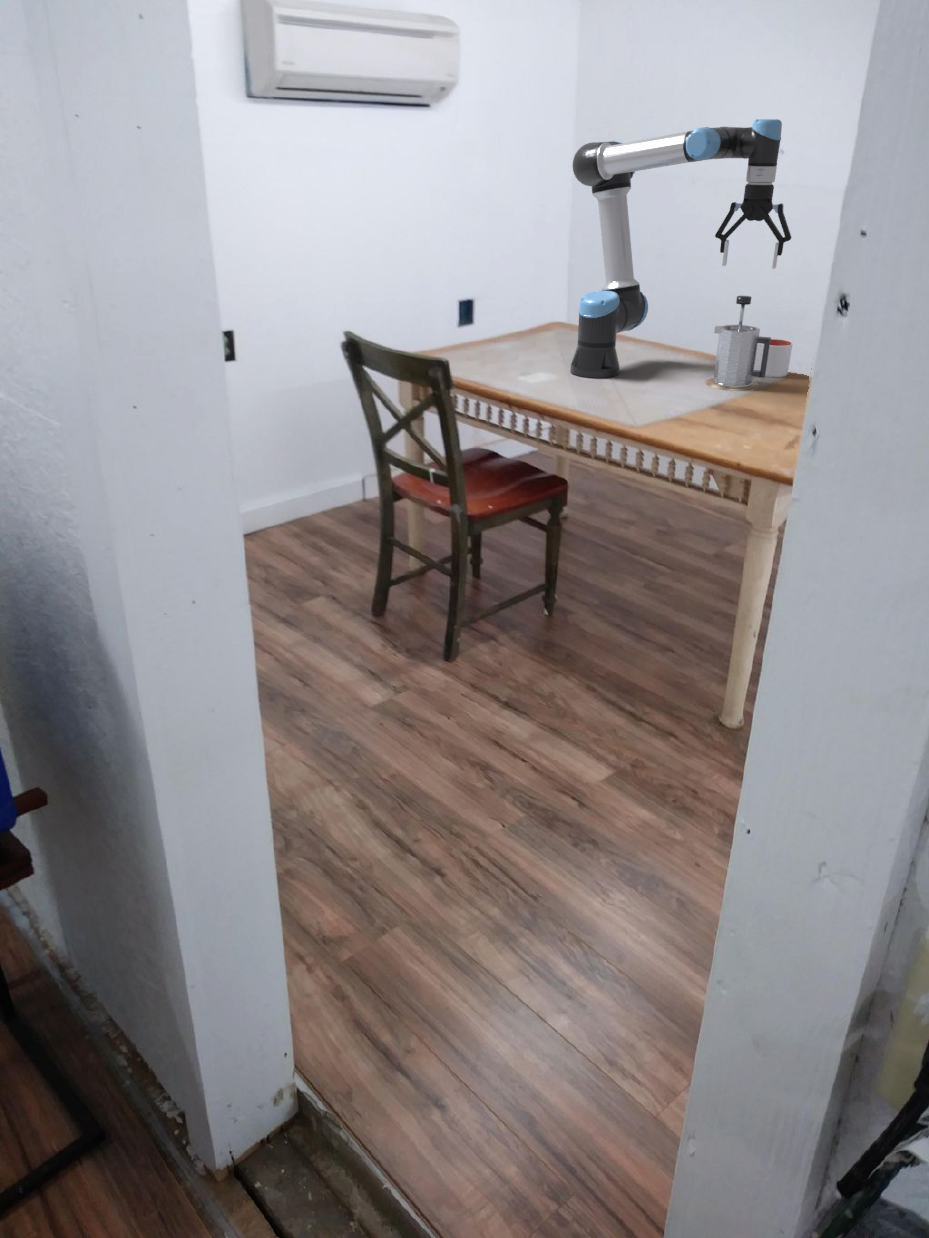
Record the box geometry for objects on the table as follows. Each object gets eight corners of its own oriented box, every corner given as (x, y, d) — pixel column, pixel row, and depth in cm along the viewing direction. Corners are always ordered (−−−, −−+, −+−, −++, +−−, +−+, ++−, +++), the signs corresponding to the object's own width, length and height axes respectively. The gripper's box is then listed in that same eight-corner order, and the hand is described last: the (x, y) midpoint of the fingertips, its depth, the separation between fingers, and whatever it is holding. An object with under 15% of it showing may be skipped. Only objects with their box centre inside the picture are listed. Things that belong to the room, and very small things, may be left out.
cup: (788, 380, 291) (794, 346, 286) (754, 378, 292) (759, 345, 288) (785, 372, 299) (790, 339, 295) (752, 370, 301) (757, 338, 296)
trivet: (700, 389, 280) (700, 387, 280) (709, 377, 293) (709, 375, 293) (756, 395, 275) (756, 393, 275) (763, 382, 288) (763, 380, 288)
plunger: (722, 336, 275) (727, 298, 270) (727, 331, 282) (732, 293, 277) (751, 339, 273) (756, 300, 268) (754, 333, 279) (760, 295, 274)
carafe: (705, 385, 282) (712, 330, 274) (711, 377, 291) (718, 323, 283) (760, 391, 276) (769, 334, 269) (765, 382, 285) (773, 327, 278)
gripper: (710, 183, 259) (701, 266, 269) (807, 185, 251) (793, 270, 261) (715, 181, 266) (706, 262, 275) (809, 183, 257) (796, 267, 267)
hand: (748, 266), depth 268 cm, fingers open, 13 cm apart
